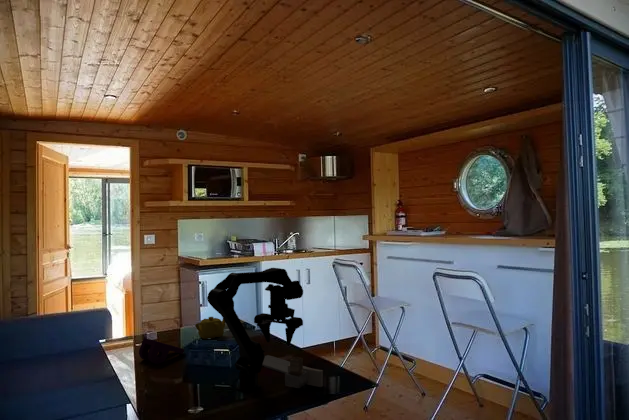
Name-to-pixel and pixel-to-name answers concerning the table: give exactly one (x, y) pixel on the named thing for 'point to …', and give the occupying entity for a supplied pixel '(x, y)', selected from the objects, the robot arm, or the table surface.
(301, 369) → the rail post
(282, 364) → the baseboard molding
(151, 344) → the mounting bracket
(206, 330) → the teapot
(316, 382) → the board
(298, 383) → the square open holder
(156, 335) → the table surface
